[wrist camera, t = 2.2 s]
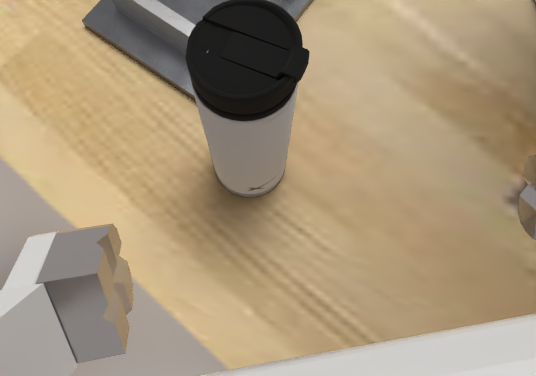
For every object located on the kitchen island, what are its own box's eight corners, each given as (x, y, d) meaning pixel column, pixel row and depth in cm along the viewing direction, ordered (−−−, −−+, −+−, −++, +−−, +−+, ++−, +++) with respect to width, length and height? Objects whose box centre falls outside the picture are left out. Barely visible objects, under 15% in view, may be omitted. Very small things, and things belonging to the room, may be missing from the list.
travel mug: (272, 210, 44) (281, 117, 25) (202, 181, 45) (159, 67, 25) (299, 148, 46) (328, 15, 26) (232, 120, 46) (213, -30, 27)
